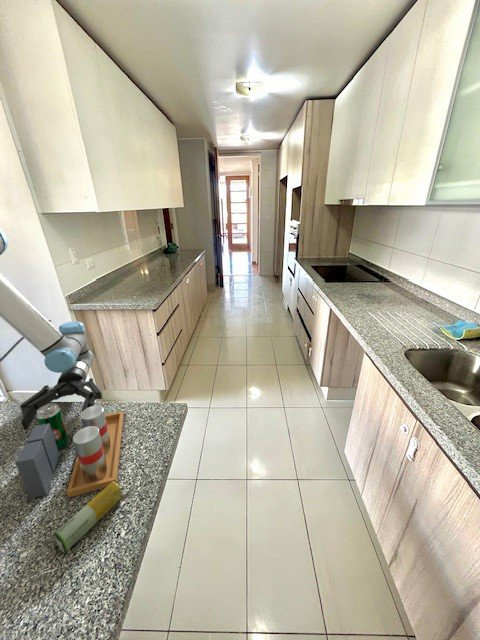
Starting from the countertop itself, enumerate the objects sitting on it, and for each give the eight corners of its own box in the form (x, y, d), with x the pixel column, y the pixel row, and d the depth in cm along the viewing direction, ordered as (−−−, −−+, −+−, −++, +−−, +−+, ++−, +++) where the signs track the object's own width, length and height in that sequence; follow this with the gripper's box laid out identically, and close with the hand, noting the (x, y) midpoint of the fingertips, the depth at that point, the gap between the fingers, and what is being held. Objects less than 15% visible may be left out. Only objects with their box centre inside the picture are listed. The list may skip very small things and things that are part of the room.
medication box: (64, 556, 47) (60, 544, 45) (56, 546, 48) (51, 534, 46) (122, 498, 56) (121, 486, 55) (114, 490, 57) (112, 479, 56)
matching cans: (91, 444, 69) (82, 407, 65) (112, 439, 71) (104, 403, 67) (81, 486, 58) (69, 446, 54) (106, 480, 60) (97, 440, 55)
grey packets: (46, 460, 65) (34, 425, 61) (60, 457, 66) (49, 423, 62) (30, 500, 56) (15, 462, 52) (46, 495, 57) (33, 458, 53)
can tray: (89, 423, 77) (87, 418, 76) (123, 416, 80) (123, 411, 79) (68, 499, 56) (66, 492, 55) (116, 485, 59) (115, 479, 58)
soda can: (43, 454, 67) (30, 417, 62) (52, 439, 71) (41, 403, 67) (65, 451, 68) (54, 414, 63) (72, 436, 72) (62, 401, 68)
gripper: (115, 379, 93) (109, 419, 74) (32, 393, 85) (1, 442, 66) (112, 361, 90) (104, 398, 71) (26, 373, 82) (-8, 418, 63)
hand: (55, 419), depth 69 cm, fingers open, 13 cm apart
